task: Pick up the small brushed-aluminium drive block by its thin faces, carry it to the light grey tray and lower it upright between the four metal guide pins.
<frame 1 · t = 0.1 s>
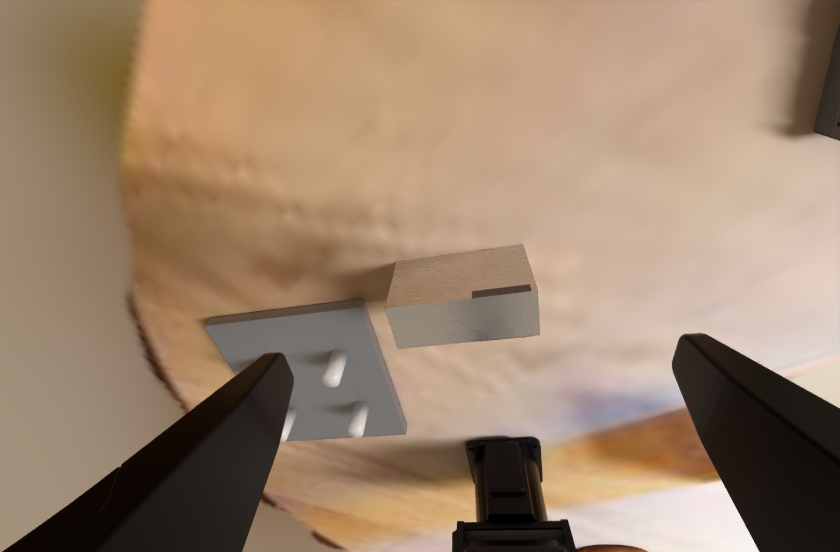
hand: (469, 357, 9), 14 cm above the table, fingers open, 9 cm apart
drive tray: (317, 375, 31), on the table
drive block: (461, 272, 25), on the table
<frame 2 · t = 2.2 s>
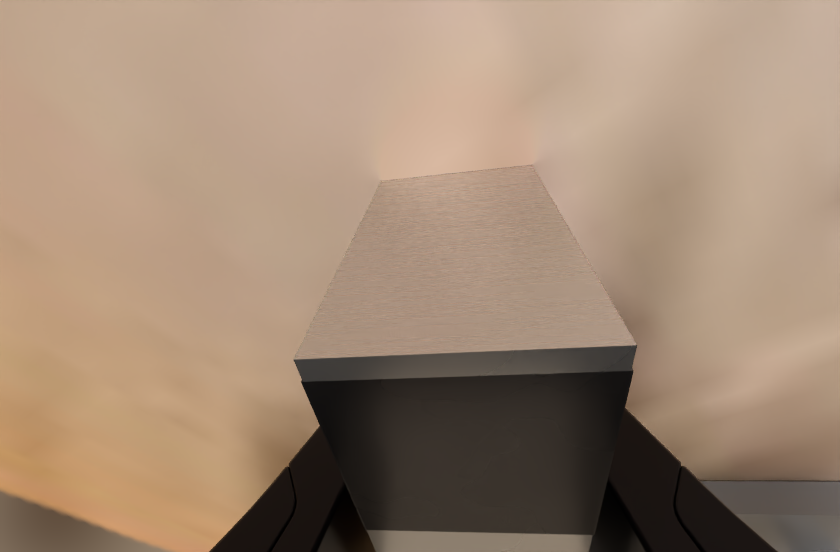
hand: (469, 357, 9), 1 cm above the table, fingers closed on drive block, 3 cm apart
drive block: (467, 327, 10), on the table, touching gripper
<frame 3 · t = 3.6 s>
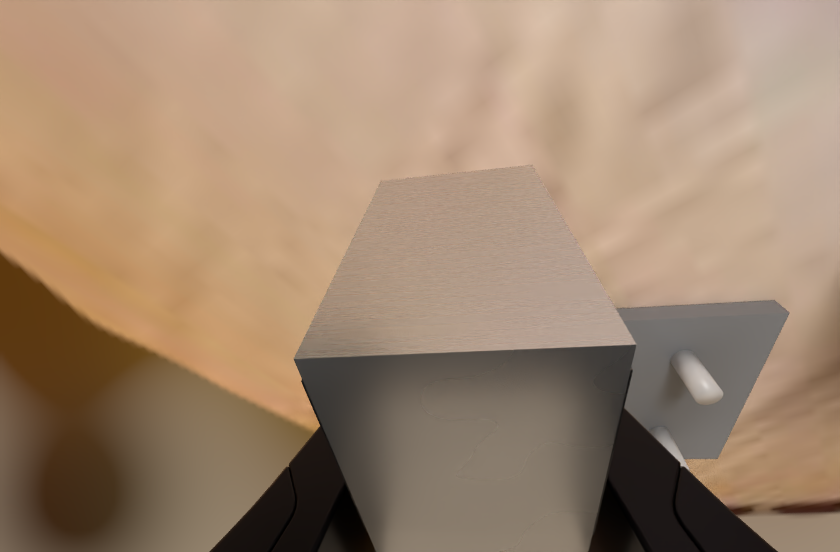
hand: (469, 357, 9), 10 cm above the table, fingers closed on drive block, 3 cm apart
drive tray: (610, 386, 23), on the table
drive block: (467, 327, 10), point 9 cm above the table, touching gripper
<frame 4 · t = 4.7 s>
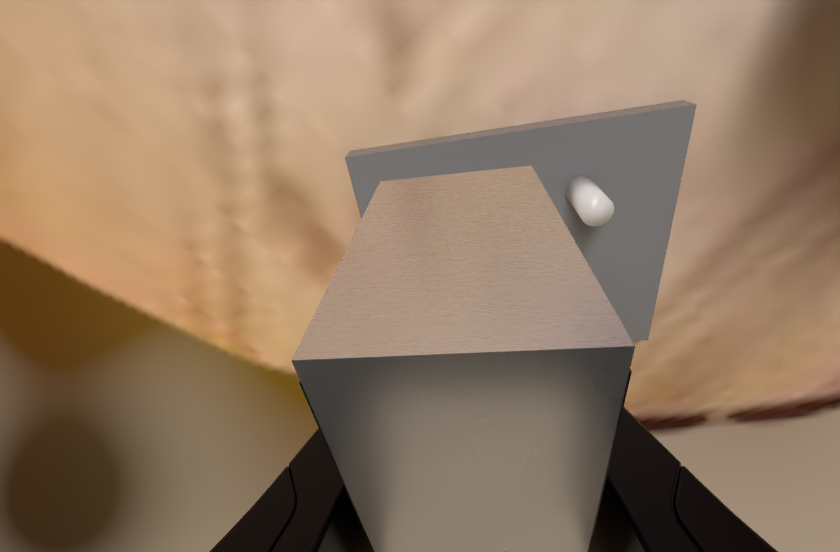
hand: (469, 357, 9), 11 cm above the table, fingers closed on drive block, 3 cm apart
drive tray: (510, 249, 19), on the table
drive block: (466, 327, 10), point 10 cm above the table, touching gripper
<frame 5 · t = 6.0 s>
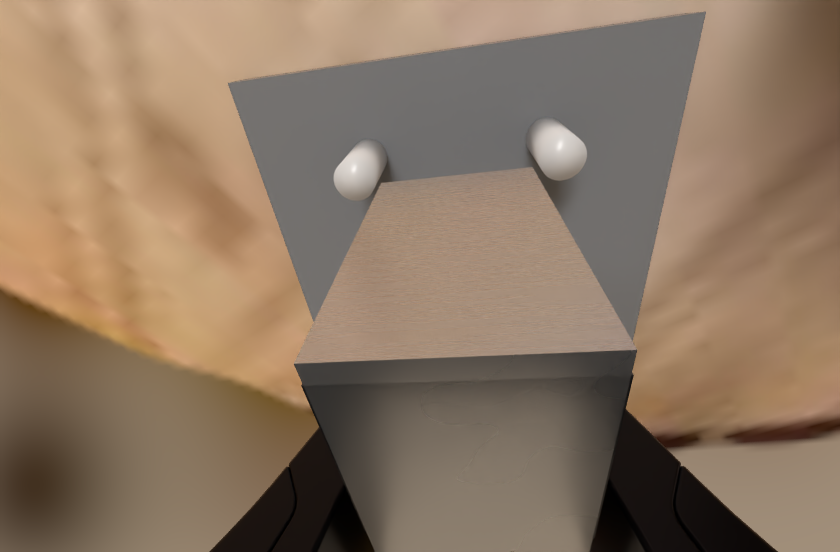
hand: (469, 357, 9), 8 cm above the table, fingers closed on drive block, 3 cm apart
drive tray: (461, 222, 15), on the table
drive block: (467, 329, 10), point 7 cm above the table, touching gripper
when the fingers open (3 cm above the table, at t = 7.2 s): drive block stays where it is, resting on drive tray.
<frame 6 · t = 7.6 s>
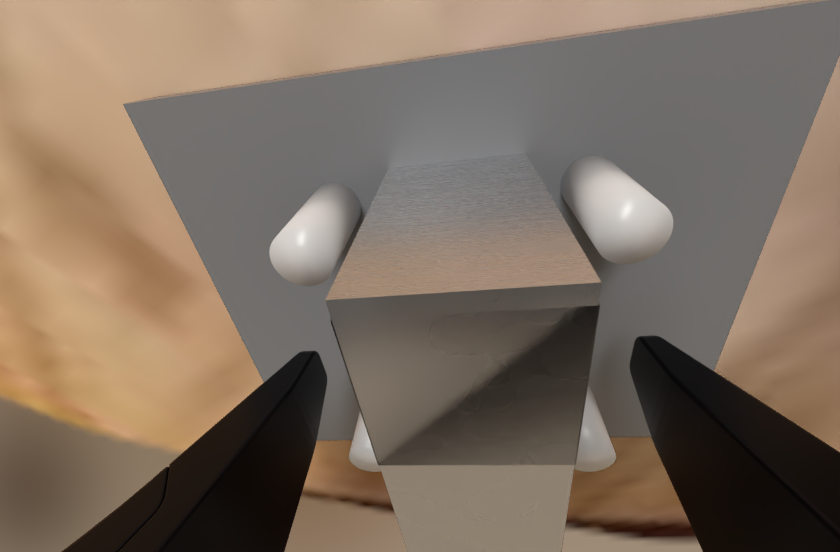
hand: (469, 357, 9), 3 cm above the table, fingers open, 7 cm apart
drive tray: (465, 285, 11), on the table
drive block: (467, 305, 10), point 1 cm above the table, touching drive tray
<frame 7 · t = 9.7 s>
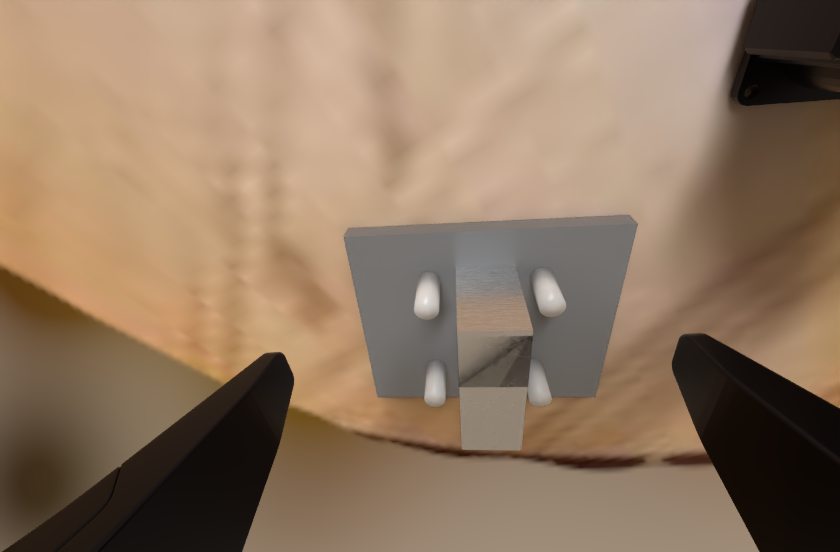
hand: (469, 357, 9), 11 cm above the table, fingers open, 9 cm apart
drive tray: (482, 315, 22), on the table
drive block: (484, 326, 21), point 1 cm above the table, touching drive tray
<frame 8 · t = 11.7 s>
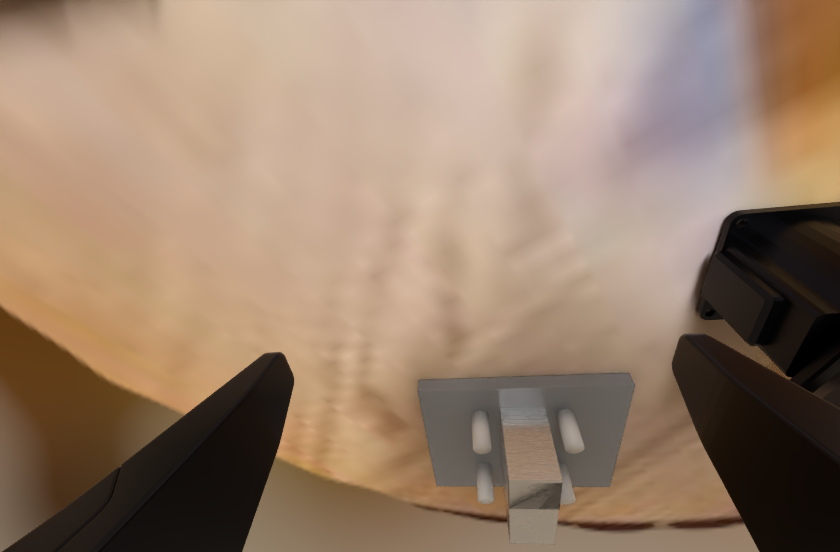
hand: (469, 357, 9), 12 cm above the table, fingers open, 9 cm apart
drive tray: (519, 431, 29), on the table
drive block: (521, 442, 28), point 1 cm above the table, touching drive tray
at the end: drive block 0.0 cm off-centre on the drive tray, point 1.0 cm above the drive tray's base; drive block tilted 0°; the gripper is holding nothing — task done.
